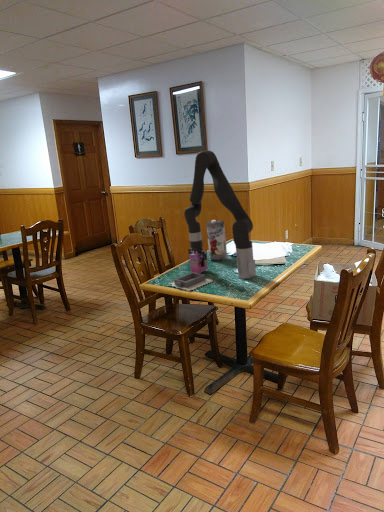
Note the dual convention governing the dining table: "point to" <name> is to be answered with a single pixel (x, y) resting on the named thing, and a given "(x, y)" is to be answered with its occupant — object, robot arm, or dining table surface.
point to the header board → (191, 281)
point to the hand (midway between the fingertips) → (199, 266)
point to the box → (197, 263)
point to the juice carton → (216, 240)
